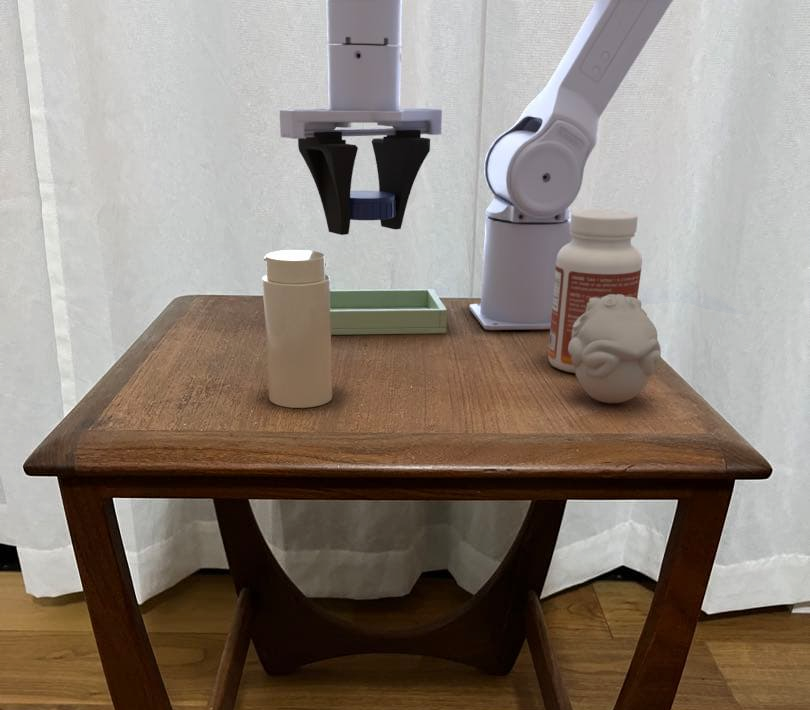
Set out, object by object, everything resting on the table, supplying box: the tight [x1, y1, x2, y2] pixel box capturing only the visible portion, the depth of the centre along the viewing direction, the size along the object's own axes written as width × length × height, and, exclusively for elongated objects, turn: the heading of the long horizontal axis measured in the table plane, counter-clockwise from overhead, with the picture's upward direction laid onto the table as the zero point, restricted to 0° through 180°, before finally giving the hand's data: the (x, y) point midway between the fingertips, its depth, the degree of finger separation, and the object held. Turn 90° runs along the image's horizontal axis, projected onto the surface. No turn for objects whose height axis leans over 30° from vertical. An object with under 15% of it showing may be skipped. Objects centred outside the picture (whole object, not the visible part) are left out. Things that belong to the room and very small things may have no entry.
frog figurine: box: [568, 294, 662, 404], centre depth 59 cm, size 6×7×7 cm
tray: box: [330, 288, 448, 336], centre depth 77 cm, size 13×8×2 cm, turn 97°
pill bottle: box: [547, 209, 643, 374], centre depth 65 cm, size 6×6×11 cm
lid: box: [350, 190, 396, 221], centre depth 73 cm, size 5×5×2 cm
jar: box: [261, 249, 333, 409], centre depth 57 cm, size 4×4×9 cm
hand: (364, 230), depth 74 cm, fingers closed on lid, 5 cm apart
